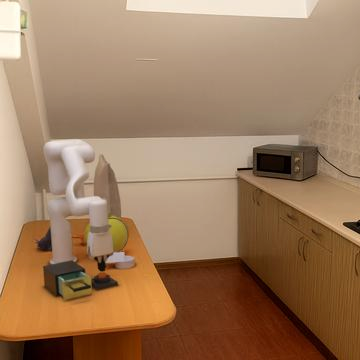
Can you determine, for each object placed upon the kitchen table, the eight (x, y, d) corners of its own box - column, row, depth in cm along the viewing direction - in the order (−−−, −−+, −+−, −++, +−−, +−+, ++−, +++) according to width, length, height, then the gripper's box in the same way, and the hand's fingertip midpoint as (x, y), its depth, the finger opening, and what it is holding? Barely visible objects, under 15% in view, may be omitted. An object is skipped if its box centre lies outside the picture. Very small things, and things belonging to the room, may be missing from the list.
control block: (117, 285, 234) (117, 277, 234) (97, 290, 229) (97, 282, 228) (106, 278, 243) (106, 271, 242) (87, 283, 238) (86, 275, 237)
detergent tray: (96, 296, 220) (95, 279, 219) (69, 303, 213) (67, 285, 212) (79, 283, 235) (78, 267, 233) (52, 290, 228) (51, 273, 226)
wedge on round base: (106, 269, 255) (134, 267, 257) (105, 255, 254) (134, 254, 256) (106, 263, 263) (134, 261, 266) (106, 250, 262) (134, 248, 265)
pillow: (125, 240, 302) (121, 162, 295) (99, 243, 298) (94, 164, 291) (116, 222, 343) (112, 153, 336) (93, 224, 339) (89, 154, 331)
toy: (77, 253, 280) (73, 195, 275) (116, 246, 293) (114, 190, 288) (95, 265, 262) (91, 203, 256) (136, 256, 274) (134, 197, 269)
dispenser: (86, 289, 230) (85, 268, 229) (56, 296, 223) (55, 275, 221) (73, 280, 242) (72, 260, 240) (44, 286, 234) (42, 266, 233)
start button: (107, 277, 235) (107, 273, 235) (99, 279, 233) (99, 275, 233) (104, 275, 238) (104, 271, 238) (96, 277, 236) (96, 273, 235)
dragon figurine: (87, 231, 291) (38, 226, 279) (83, 253, 291) (34, 249, 280) (84, 226, 300) (36, 221, 289) (80, 248, 301) (32, 244, 290)
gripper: (112, 224, 239) (114, 265, 242) (78, 230, 230) (81, 272, 233) (119, 227, 233) (122, 269, 236) (85, 233, 224) (88, 276, 227)
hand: (101, 270), depth 235 cm, fingers closed
